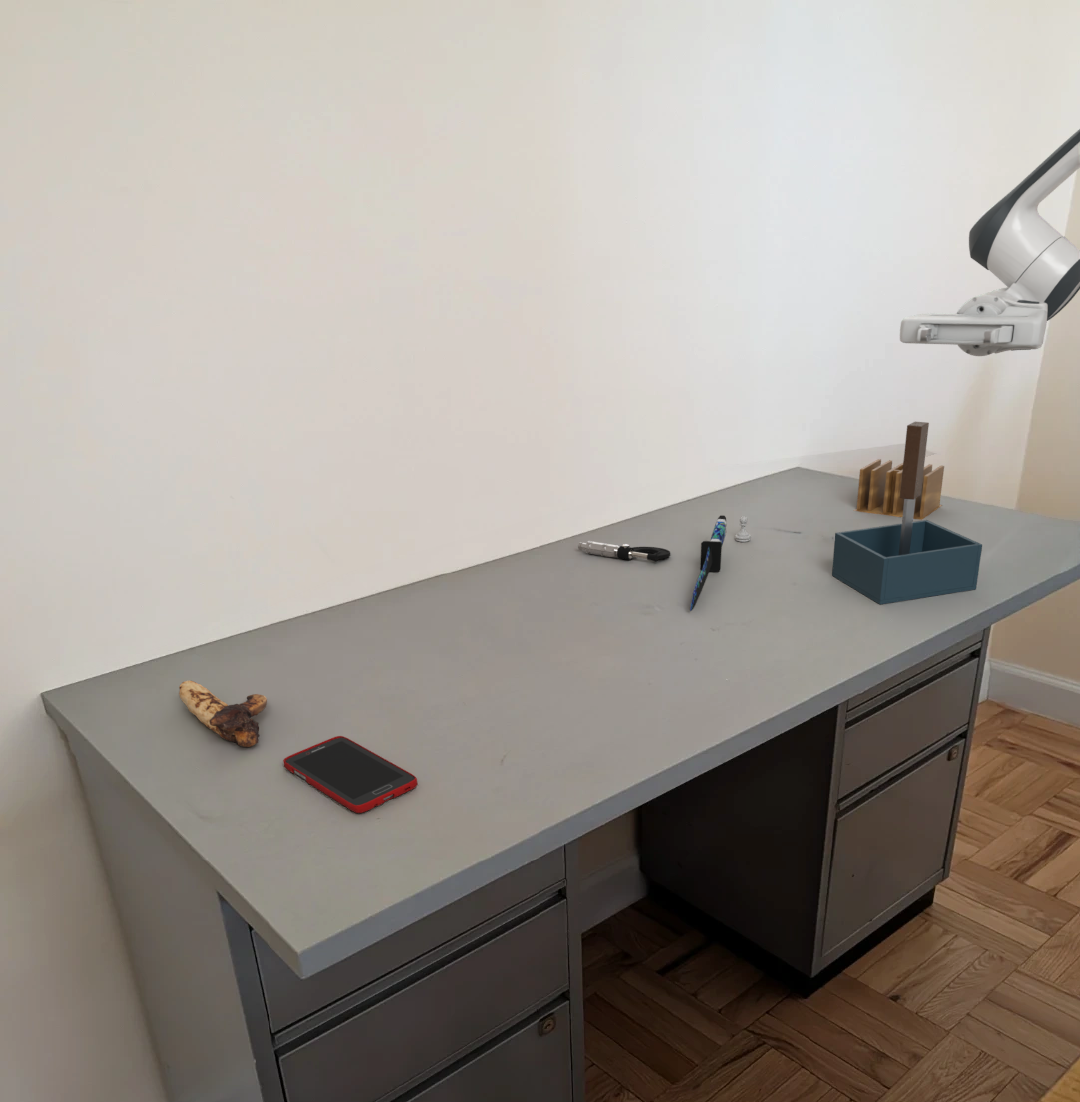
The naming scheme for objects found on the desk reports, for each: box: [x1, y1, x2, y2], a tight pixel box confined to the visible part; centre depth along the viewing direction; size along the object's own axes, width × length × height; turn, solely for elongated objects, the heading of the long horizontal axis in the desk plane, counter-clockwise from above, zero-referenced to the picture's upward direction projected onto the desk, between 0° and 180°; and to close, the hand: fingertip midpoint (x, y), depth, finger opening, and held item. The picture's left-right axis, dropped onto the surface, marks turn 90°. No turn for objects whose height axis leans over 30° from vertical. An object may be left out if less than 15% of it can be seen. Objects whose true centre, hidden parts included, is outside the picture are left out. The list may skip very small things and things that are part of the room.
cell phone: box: [282, 735, 418, 814], centre depth 108 cm, size 8×15×1 cm, turn 43°
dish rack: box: [852, 458, 945, 521], centre depth 179 cm, size 12×10×8 cm
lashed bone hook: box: [178, 680, 268, 748], centre depth 121 cm, size 9×5×18 cm
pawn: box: [734, 515, 752, 543], centre depth 172 cm, size 3×3×4 cm
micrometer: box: [577, 540, 671, 562], centre depth 169 cm, size 15×7×2 cm, turn 55°
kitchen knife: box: [898, 421, 930, 555], centre depth 146 cm, size 2×3×22 cm, turn 142°
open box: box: [831, 519, 983, 605], centre depth 149 cm, size 15×13×7 cm
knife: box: [689, 514, 727, 612], centre depth 156 cm, size 31×3×4 cm, turn 159°
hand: (954, 336), depth 149 cm, fingers open, 8 cm apart
